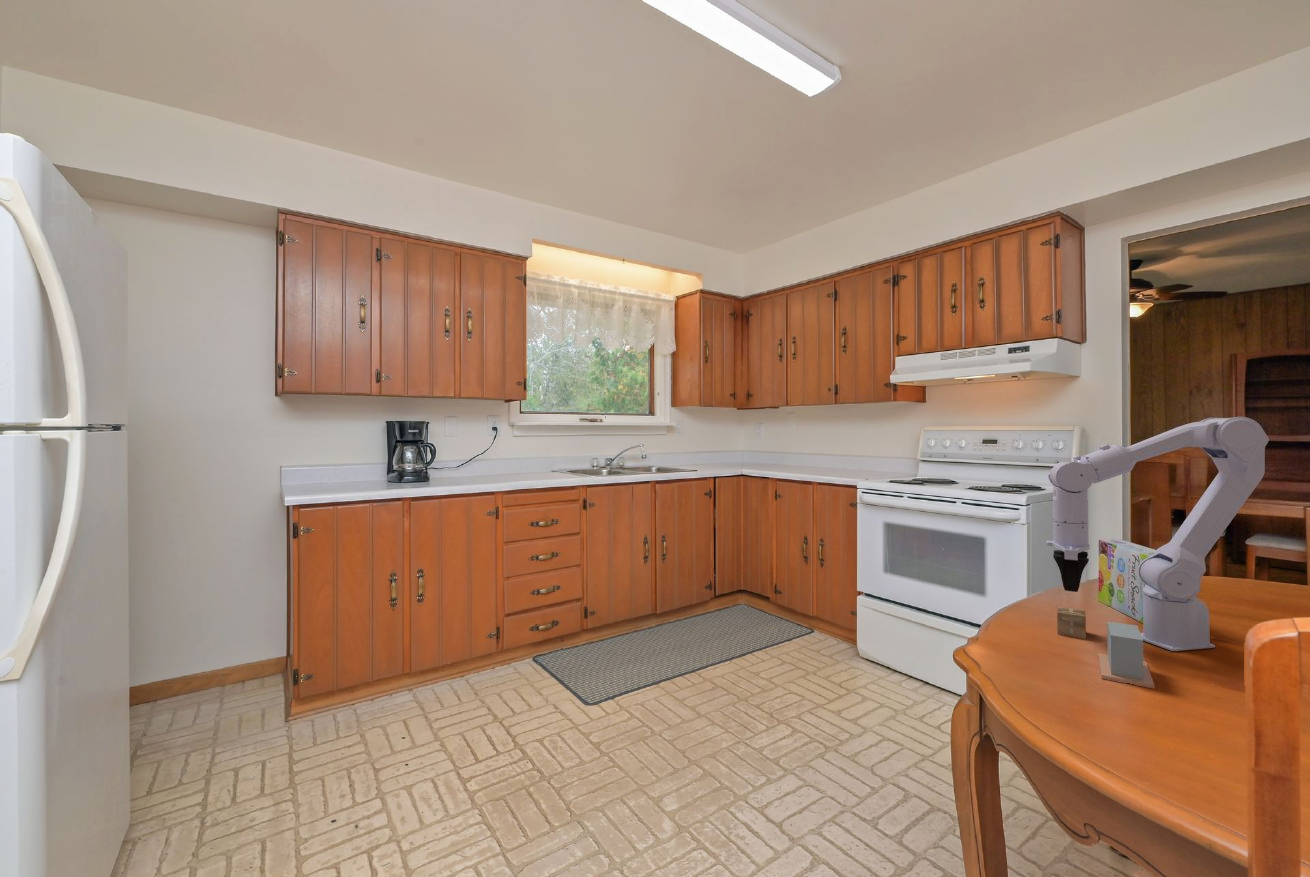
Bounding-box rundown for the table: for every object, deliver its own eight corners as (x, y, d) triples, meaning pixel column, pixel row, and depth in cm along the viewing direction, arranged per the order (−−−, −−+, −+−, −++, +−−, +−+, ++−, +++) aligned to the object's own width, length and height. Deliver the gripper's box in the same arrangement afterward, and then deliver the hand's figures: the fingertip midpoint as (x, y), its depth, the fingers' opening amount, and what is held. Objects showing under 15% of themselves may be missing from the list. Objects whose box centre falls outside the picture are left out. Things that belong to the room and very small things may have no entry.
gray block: (1111, 674, 92) (1110, 635, 92) (1107, 657, 98) (1107, 621, 98) (1143, 680, 89) (1142, 640, 89) (1137, 663, 96) (1137, 625, 96)
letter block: (1057, 627, 115) (1057, 605, 115) (1085, 632, 112) (1084, 609, 112) (1057, 634, 111) (1057, 611, 111) (1085, 639, 109) (1085, 616, 109)
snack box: (1189, 634, 110) (1189, 558, 110) (1157, 632, 112) (1156, 557, 111) (1123, 601, 131) (1122, 538, 131) (1096, 600, 132) (1095, 537, 132)
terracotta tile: (1098, 656, 100) (1098, 652, 100) (1145, 664, 97) (1145, 660, 97) (1101, 678, 92) (1101, 674, 92) (1154, 688, 88) (1154, 684, 88)
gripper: (1046, 515, 120) (1047, 577, 120) (1045, 525, 108) (1045, 594, 108) (1088, 517, 116) (1088, 582, 116) (1091, 528, 104) (1091, 600, 104)
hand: (1070, 588), depth 112 cm, fingers open, 3 cm apart
